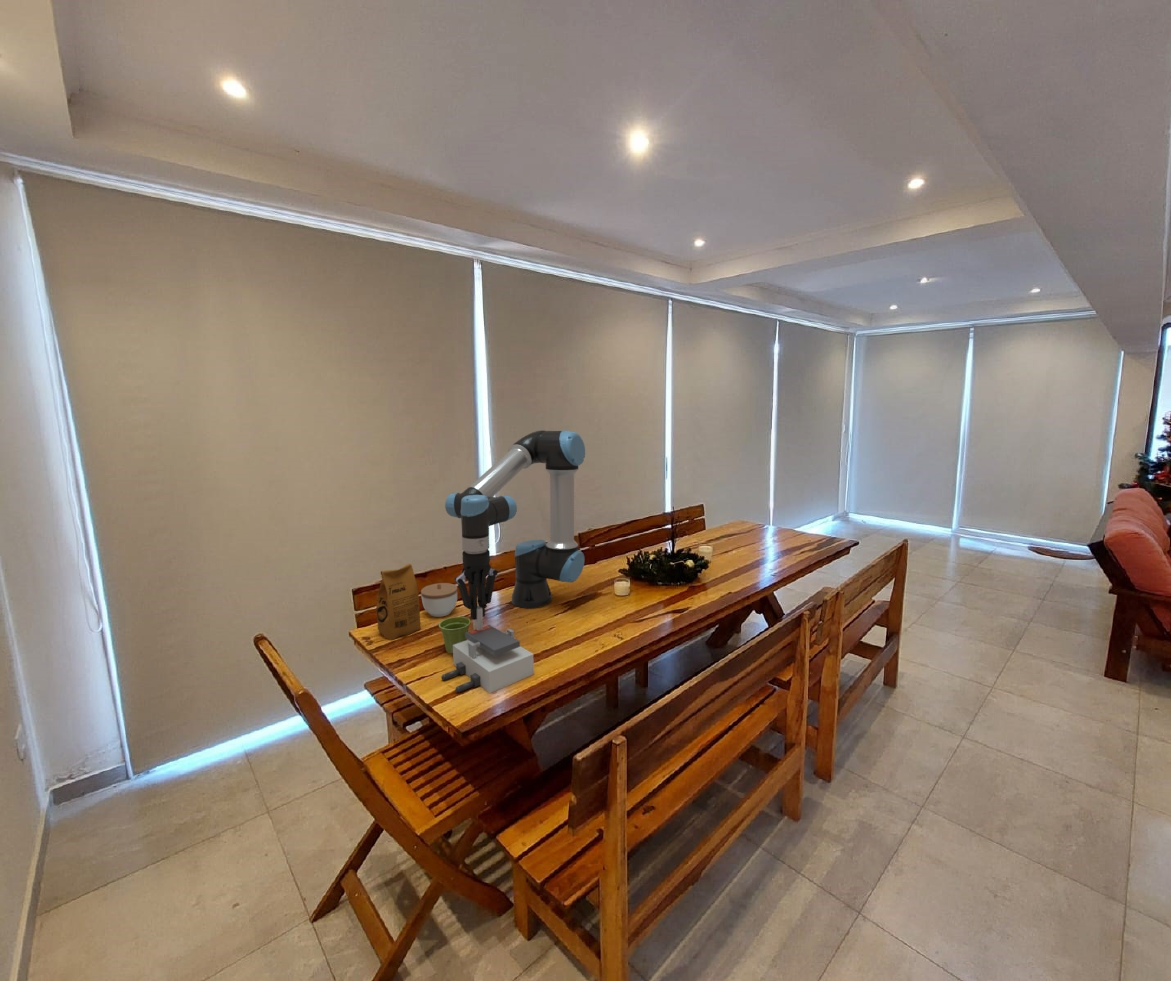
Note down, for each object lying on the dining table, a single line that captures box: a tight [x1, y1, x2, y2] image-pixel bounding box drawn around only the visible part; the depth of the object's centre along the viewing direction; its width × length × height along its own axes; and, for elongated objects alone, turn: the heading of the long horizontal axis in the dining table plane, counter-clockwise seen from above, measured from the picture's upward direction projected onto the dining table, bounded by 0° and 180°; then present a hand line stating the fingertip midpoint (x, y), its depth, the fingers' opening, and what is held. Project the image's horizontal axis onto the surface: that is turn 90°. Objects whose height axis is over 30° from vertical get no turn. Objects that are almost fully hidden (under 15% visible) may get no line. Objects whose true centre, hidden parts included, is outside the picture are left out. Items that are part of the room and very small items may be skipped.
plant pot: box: [438, 616, 472, 654], centre depth 156 cm, size 9×9×9 cm
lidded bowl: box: [420, 582, 458, 618], centre depth 183 cm, size 13×13×11 cm
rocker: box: [465, 624, 521, 656], centre depth 143 cm, size 11×16×2 cm, turn 42°
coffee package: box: [376, 563, 421, 641], centre depth 167 cm, size 10×12×22 cm
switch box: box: [441, 628, 535, 694], centre depth 141 cm, size 21×20×10 cm
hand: (478, 628), depth 148 cm, fingers closed
